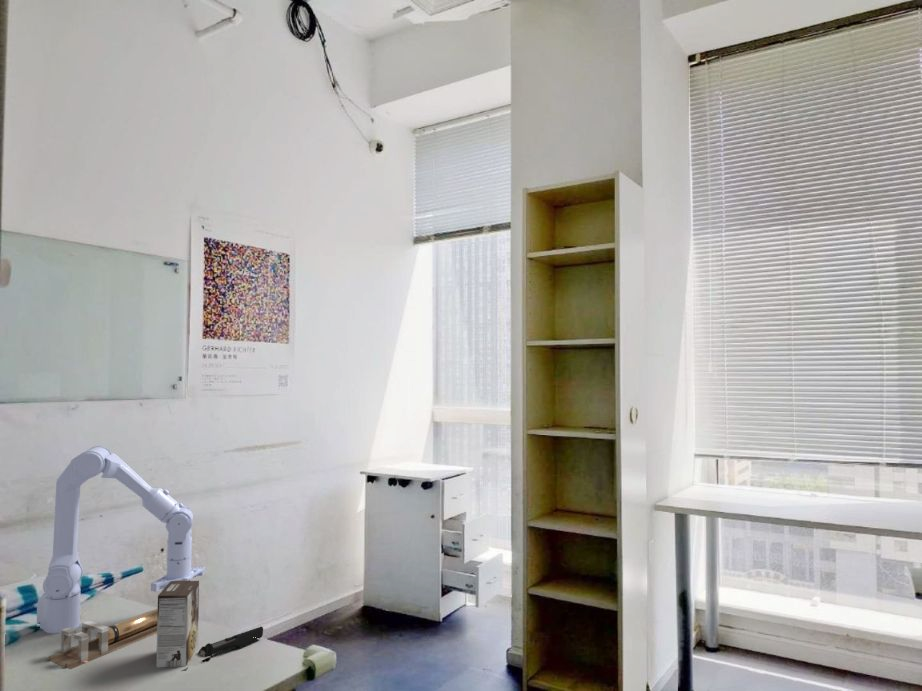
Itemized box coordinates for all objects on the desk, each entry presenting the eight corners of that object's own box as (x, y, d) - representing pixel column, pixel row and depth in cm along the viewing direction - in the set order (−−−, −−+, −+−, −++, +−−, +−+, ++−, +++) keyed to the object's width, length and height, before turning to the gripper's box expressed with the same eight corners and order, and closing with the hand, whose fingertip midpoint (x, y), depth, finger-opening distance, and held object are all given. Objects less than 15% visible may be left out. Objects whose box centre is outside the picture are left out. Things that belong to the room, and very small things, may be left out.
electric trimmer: (266, 641, 152) (267, 628, 152) (204, 664, 140) (205, 649, 140) (257, 637, 154) (258, 623, 154) (195, 659, 142) (196, 644, 142)
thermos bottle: (106, 648, 144) (106, 631, 144) (95, 644, 146) (96, 628, 146) (168, 623, 158) (169, 607, 158) (158, 620, 160) (158, 605, 160)
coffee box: (168, 653, 144) (170, 580, 145) (198, 651, 145) (200, 579, 146) (154, 672, 135) (156, 595, 136) (186, 671, 136) (188, 594, 137)
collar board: (45, 664, 139) (46, 633, 139) (155, 620, 162) (155, 594, 162) (70, 674, 134) (71, 642, 134) (179, 627, 158) (180, 601, 158)
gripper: (164, 567, 155) (163, 625, 154) (213, 552, 168) (212, 605, 167) (145, 563, 158) (144, 619, 158) (195, 548, 171) (193, 600, 171)
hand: (178, 611), depth 163 cm, fingers closed
